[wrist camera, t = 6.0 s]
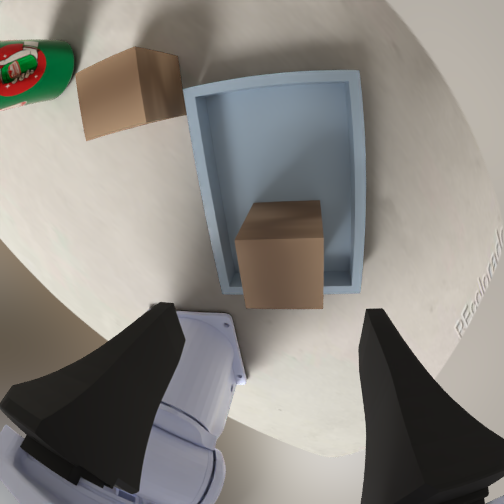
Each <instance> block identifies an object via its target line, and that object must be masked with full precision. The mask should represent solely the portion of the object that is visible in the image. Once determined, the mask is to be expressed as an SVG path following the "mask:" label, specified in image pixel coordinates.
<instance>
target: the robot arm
mask: <svg viewBox="0 0 504 504" xmlns="http://www.w3.org/2000/svg"><path fill="white" fill-rule="evenodd" d="M226 323H228V324H226ZM359 373H360V381H361V388H362V396H363V404H364V412H365V421H366V457H365V458H366V459H365V472H364V482H363V492H362V498H361V504H485V502H484V498H485V497H487V496H488V494H489V492H488V486H490V485H491V484H493V483H494V482H496V481H498V480H499V479H501V478H502V477H504V439H503V438H502V437H500V436H499V435H497V434H496V433H494V432H493V431H491V430H489V429H488V428H487V427H485V426H484V425H483V424H481V423H480V422H479V421H477V420H476V419H475V418H474V417H472V416H471V415H470V414H469V413H468V412H466V411H465V410H464V409H463V408H462V407H461V406H460V405H459V404H458V403H457V402H455V401H454V400H453V399H452V398H451V397H450V396H449V395H448V394H447V393H446V392H445V391H444V390H443V389H442V388H441V386H440V385H439V384H438V383H437V382H436V381H435V380H434V379H433V377H432V376H431V375H430V374H429V373H428V372H427V370H426V369H425V368H424V366H423V365H422V364H421V363H420V361H419V360H418V359H417V357H416V356H415V355H414V353H413V352H412V351H411V349H410V348H409V346H408V345H407V344H406V342H405V341H404V339H403V338H402V337H401V335H400V334H399V332H398V331H397V329H396V328H395V326H394V325H393V323H392V322H391V320H390V318H389V317H388V315H387V314H386V312H385V311H384V310H383V309H382V308H381V309H366V312H365V318H364V323H363V329H362V334H361V339H360V343H359ZM246 382H247V379H246V374H245V370H244V366H243V362H242V358H241V354H240V350H239V345H238V341H237V337H236V333H235V328H234V324H233V320H232V317H231V316H230V315H229V314H226V313H206V312H187V311H176V310H175V307H174V303H165V302H160V303H158V304H157V305H155V306H154V307H152V308H151V309H149V310H148V311H147V312H146V313H145V314H143V315H142V316H141V317H140V318H138V319H137V320H136V321H134V322H133V323H132V324H131V325H129V326H128V327H127V328H125V329H124V330H123V331H122V332H120V333H119V334H118V335H116V336H115V337H113V338H112V339H111V340H109V341H108V342H106V343H105V344H104V345H102V346H101V347H100V348H98V349H96V350H95V351H93V352H92V353H90V354H88V355H87V356H85V357H83V358H82V359H80V360H78V361H76V362H74V363H72V364H70V365H68V366H66V367H64V368H62V369H60V370H58V371H56V372H53V373H51V374H48V375H46V376H43V377H40V378H38V379H35V380H31V381H28V382H24V383H20V384H17V385H13V386H12V387H11V388H10V390H9V391H8V392H7V394H6V395H5V397H4V398H3V400H2V401H1V403H0V409H1V410H2V412H3V413H4V414H5V415H6V416H7V417H8V418H9V419H10V420H11V421H12V422H13V423H14V424H16V425H17V426H18V427H19V428H20V429H21V430H22V431H23V432H25V434H27V435H26V437H25V439H24V438H23V437H22V436H20V435H19V434H18V433H17V432H15V431H14V430H13V429H11V428H10V427H9V426H8V425H5V426H4V428H3V429H2V431H1V432H0V480H1V482H2V483H3V484H4V485H5V486H6V488H7V489H8V490H9V491H10V493H11V494H12V495H13V496H14V497H15V499H16V500H17V501H18V502H19V503H20V504H214V503H215V502H216V500H217V498H218V496H219V494H220V492H221V490H222V487H223V484H224V480H225V474H226V466H225V461H224V459H223V455H222V453H221V451H220V450H218V449H217V448H215V444H216V440H217V438H218V437H219V436H220V435H221V433H222V432H223V430H224V426H225V423H226V420H227V416H228V412H229V409H230V405H231V402H232V398H233V395H234V391H235V387H236V384H240V385H244V384H246ZM486 504H504V495H503V496H501V497H499V498H497V499H494V500H492V501H490V502H488V503H486Z"/></svg>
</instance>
